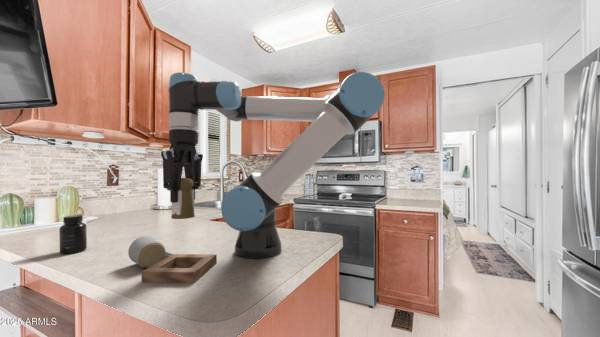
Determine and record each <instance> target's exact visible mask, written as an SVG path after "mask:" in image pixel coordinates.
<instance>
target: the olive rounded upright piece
mask: <svg viewBox="0 0 600 337" xmlns="http://www.w3.org/2000/svg"><path fill="white" fill-rule="evenodd" d="M192 188H193V181H192V179H189V178H186V177H181V182H180V188H179V190H180V191H182V206H181V215H177V214H176V213H175V214H174V215H173V214H172V213H171V217H170V218H171V219H172V220H185V219H192V218H194V217H196V215H195V206H194V207H193V200H192V192H191V189H192Z"/></svg>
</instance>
